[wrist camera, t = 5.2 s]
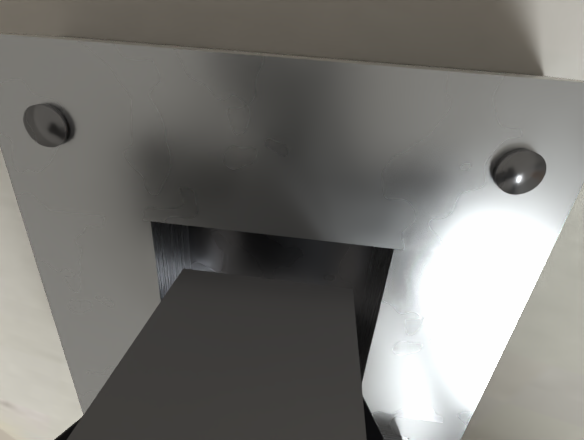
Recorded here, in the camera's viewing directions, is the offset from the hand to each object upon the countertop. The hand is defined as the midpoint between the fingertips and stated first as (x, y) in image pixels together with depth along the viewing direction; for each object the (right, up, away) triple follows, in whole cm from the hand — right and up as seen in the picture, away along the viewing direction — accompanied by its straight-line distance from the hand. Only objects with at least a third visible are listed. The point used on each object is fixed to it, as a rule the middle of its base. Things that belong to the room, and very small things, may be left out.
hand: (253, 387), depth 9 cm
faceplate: (0, +2, +5) cm, 5 cm away
